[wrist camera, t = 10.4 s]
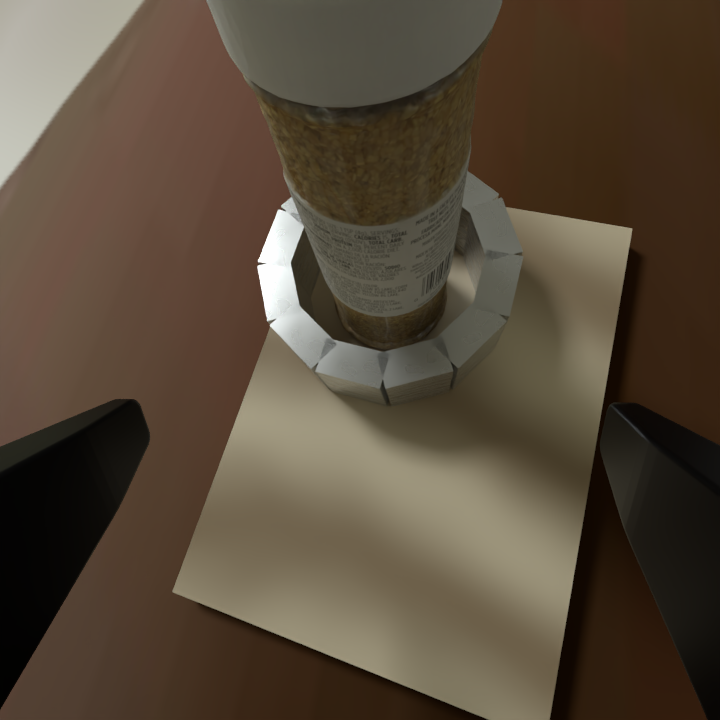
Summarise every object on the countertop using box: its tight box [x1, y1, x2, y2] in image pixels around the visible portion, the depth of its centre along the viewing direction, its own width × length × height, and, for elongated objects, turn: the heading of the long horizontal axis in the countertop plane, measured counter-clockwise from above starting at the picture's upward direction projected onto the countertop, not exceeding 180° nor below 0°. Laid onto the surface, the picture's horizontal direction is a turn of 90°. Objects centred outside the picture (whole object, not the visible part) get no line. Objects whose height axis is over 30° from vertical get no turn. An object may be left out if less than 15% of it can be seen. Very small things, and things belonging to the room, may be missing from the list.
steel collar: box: [258, 171, 524, 407], centre depth 17 cm, size 9×9×3 cm
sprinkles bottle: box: [206, 0, 502, 350], centre depth 12 cm, size 5×5×14 cm
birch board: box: [172, 207, 632, 720], centre depth 18 cm, size 18×13×1 cm
